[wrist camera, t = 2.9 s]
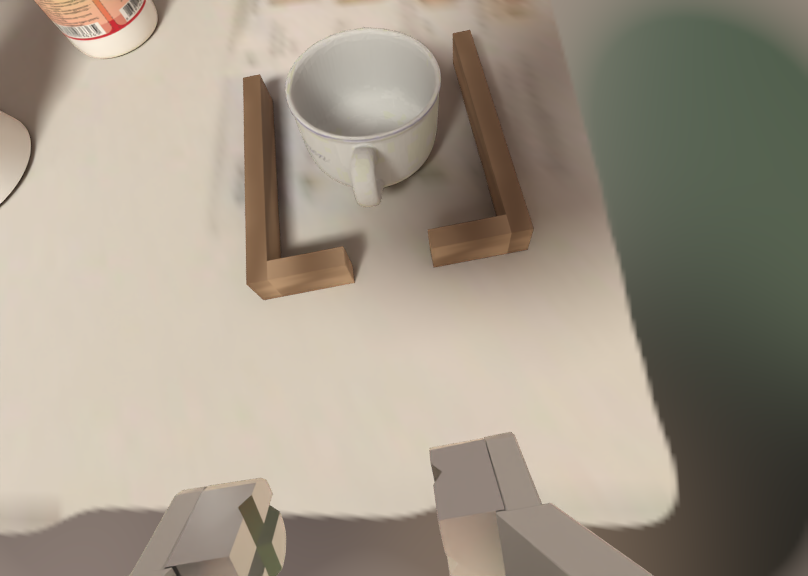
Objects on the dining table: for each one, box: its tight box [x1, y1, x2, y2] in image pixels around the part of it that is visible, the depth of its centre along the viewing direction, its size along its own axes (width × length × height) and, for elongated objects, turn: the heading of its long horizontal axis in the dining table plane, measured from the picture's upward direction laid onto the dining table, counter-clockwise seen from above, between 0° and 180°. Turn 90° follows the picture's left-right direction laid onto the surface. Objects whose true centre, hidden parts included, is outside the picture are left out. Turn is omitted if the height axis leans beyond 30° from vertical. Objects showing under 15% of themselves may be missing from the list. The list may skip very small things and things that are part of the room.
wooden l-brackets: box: [243, 30, 534, 300], centre depth 36 cm, size 20×20×3 cm
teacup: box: [285, 27, 441, 207], centre depth 34 cm, size 14×11×8 cm
